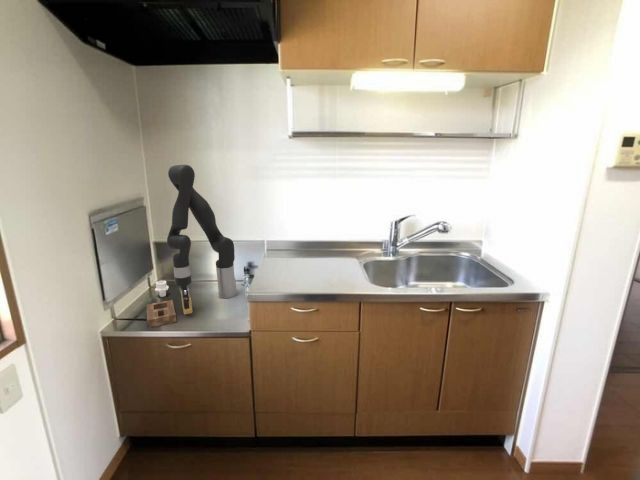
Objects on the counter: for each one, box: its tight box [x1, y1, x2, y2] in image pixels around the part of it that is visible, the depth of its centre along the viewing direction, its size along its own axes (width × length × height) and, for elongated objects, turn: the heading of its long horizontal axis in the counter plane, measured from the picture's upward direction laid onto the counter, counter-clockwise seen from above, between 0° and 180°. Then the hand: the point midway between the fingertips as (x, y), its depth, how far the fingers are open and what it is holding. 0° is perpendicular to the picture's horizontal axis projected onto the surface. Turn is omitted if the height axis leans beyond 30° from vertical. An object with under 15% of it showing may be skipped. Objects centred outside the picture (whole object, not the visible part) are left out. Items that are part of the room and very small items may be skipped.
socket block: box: [146, 299, 177, 329], centre depth 169 cm, size 12×18×4 cm, turn 26°
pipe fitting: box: [154, 280, 170, 298], centre depth 192 cm, size 6×7×8 cm
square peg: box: [180, 294, 193, 315], centre depth 173 cm, size 4×4×8 cm
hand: (185, 305), depth 173 cm, fingers open, 8 cm apart
